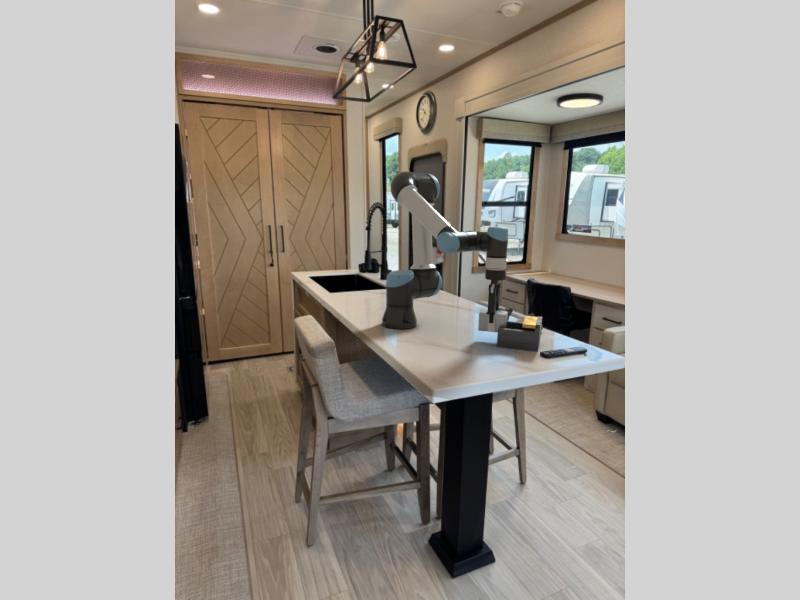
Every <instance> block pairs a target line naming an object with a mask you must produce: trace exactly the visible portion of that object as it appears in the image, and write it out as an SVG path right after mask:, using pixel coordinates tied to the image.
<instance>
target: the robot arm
mask: <svg viewBox="0 0 800 600" xmlns="http://www.w3.org/2000/svg"><path fill="white" fill-rule="evenodd" d="M389 187H390V194H391V196H392V198H393V199H394V200H395V202H396V203H397V204H398V205H399V206H402V207H405V208H406V209H407V211H408V212H410V214H411V225H412V227H411V228H412V229H411V230H412V232H411V233H412V255H413V256H412V258H413V259H412V260H413V261H412V262H413V264H412V265H411V266H410V267H409V268H410V269H398V270H392V271H391V272H389V273H387V276H386V282H385V286H386V288H385V289H386V292H385V293H386V294H385V295H386V299H385V300H386V301H385V310H384V314H383V317H382V319H381V325H382V326H383V327H384V326H385V327H384V328H387V327H389V328H388V329H392V328H396V329H395V330H407V329H406V328H409V329H413V328H416V325H418V319H417V317H416V313H415V309H414V300H416V299H425V298H427V299H428V298H430V297H433V296H436V295H438V294H439V292H440V291H441V289H442V286H443V278H442V275H441V274H440V272H439V271H437V266H436V265H435V264H434V263H433V261H434V260H433V258H434V257H433V237H434V238H435V240H436V246H437V249H438V251H439V252H441V253H444V254H455V253H465V252H466V253H467V252H469V253H470V252H485V253H486V254H485V268H486V269H485V272H484V274H485V275H484V277H485V279H486V280H487V281H490V284H489V285H488V301H487V310H488V311H487V312H486V314H488V327H487V331H486V332H488V331H493V332H492V333H496V332H495V320H496V314H495V310H496V311H498V310H500V309H501V308H502V307H500V301H501V300H500V299H501V298H500V297H501V296H500V295H501V287H502V284H501V283H502V282H500V281H505V280H506V278H507V277H506V276H507V271H506V268H507V264H508V263H509V260H508V258H507V257H508V254H507V253H508V244H509V229H508V227H504V226H490V227H489V226H488V228H487V231H478V230H466V231H458V230H456V229H455V227H454V226H452V225H451V223H450V222H448V221H447V220H446V219H445V218H444V217H443V216H442V215H441V214H440V213H439V212H438V211H437V210H436V209H435V208H434V206H435V204H436V203H435V201H436V200H437V199H438V197H439V196H440V191H441V185H440V183H439V180H438V178H436V176H435V175H434V174H431V173H428V172H417V171H415V172H414V171H400V172H399V173H397V174H396V175H395V176H394V177H392V179H391V183H390V186H389ZM490 310H491V311H490ZM412 327H413V328H412Z"/></svg>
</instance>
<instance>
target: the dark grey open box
mask: <svg viewBox="0 0 800 600" xmlns="http://www.w3.org/2000/svg"><path fill="white" fill-rule="evenodd" d="M523 319H524V322H516V321H513V320H508V321H507V328H498V332H497V337H496V347H497V348H501V349H511V350H519V351H525V352H528V351H529V352H535V353H538V352H539V348H540V345H541V344H540V343H541V338H542V337H541V336H542V335H541V333H542V331H541V325H542V326H543V324H542V323H543V316H535V317H532V316H529V315H525V318H523Z"/></svg>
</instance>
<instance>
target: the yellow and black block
mask: <svg viewBox="0 0 800 600" xmlns="http://www.w3.org/2000/svg"><path fill="white" fill-rule="evenodd" d="M528 316H532V317H536V316H535V313H533V312H530V314H528ZM524 319H525V318H523V319H518V320H517V321H515V322H524ZM543 328H544V327H543V324H542V325H541V332H542V331H543Z"/></svg>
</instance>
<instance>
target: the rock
mask: <svg viewBox="0 0 800 600" xmlns="http://www.w3.org/2000/svg"><path fill="white" fill-rule="evenodd" d="M500 308H501V309H500V310H498V311H508V317H507V321H510V317H511V315H512V314H513V311H514V309H513V308H512V307H511V308H510V307H505V308H503V307H500Z"/></svg>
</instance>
